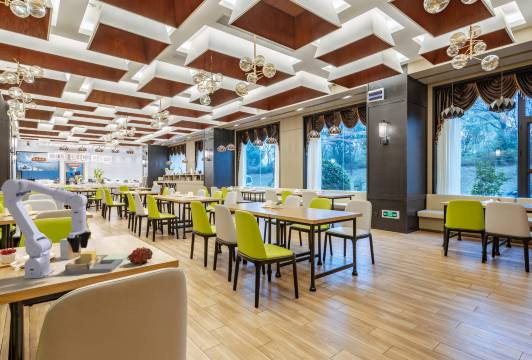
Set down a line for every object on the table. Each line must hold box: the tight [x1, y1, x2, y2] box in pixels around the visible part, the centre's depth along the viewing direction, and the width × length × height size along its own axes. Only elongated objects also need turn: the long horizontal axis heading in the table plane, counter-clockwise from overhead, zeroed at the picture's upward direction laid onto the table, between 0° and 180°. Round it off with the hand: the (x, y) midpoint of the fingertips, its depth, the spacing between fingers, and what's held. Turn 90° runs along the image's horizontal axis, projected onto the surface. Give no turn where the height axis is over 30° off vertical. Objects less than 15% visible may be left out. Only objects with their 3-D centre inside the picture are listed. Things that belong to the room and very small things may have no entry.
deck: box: [63, 253, 130, 275], centre depth 145 cm, size 24×20×2 cm
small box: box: [59, 237, 82, 260], centre depth 158 cm, size 8×6×10 cm
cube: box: [79, 250, 97, 264], centre depth 143 cm, size 5×5×5 cm
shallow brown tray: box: [64, 254, 104, 271], centre depth 140 cm, size 15×10×2 cm, turn 7°
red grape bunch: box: [126, 246, 154, 265], centre depth 147 cm, size 8×8×12 cm
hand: (80, 250), depth 135 cm, fingers open, 7 cm apart
